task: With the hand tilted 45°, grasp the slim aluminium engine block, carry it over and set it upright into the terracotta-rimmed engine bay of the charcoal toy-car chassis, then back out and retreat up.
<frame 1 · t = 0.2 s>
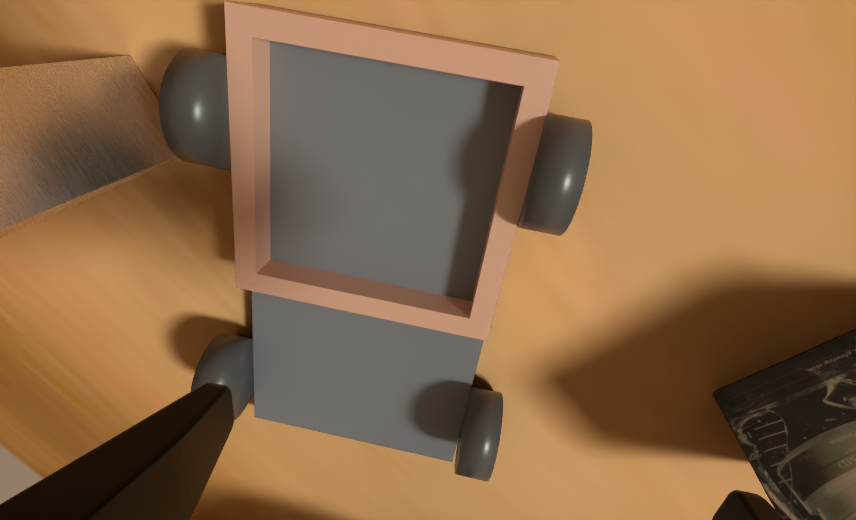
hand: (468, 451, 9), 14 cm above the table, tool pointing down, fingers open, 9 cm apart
chassis: (374, 270, 24), on the table
engine block: (125, 124, 22), on the table
box: (842, 382, 23), on the table
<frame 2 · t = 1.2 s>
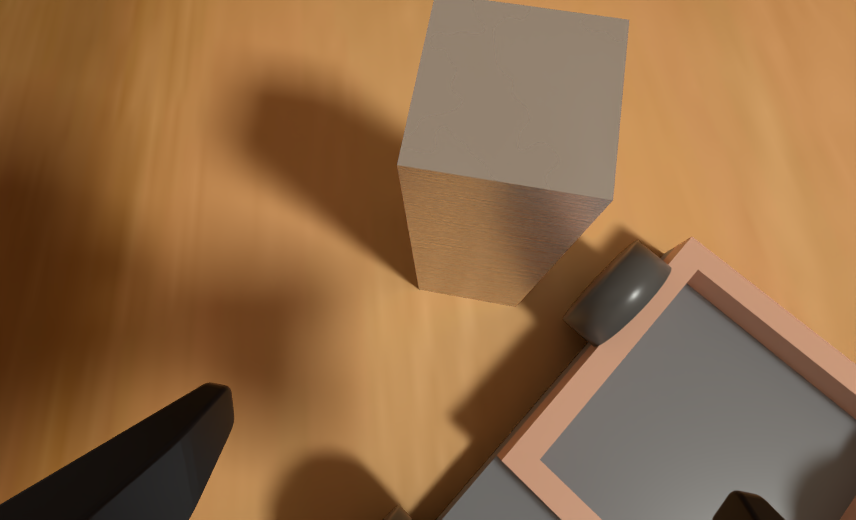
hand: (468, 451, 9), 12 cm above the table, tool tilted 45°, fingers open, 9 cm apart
engine block: (474, 251, 22), on the table
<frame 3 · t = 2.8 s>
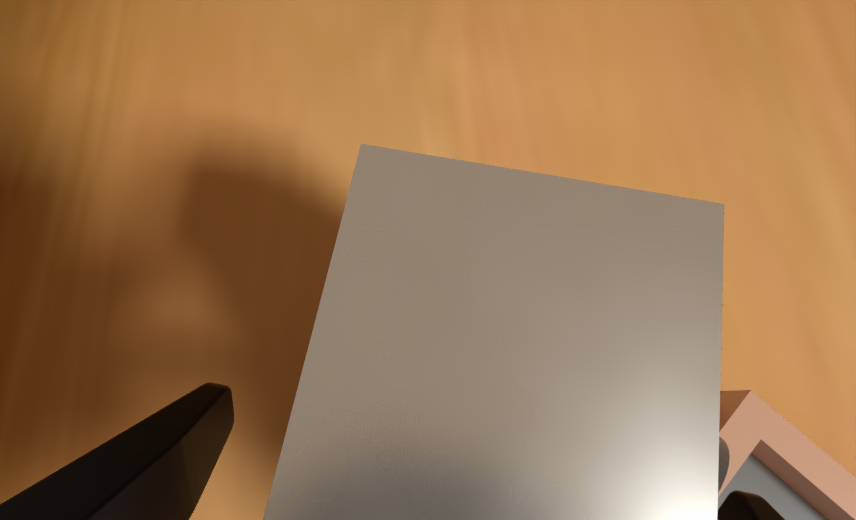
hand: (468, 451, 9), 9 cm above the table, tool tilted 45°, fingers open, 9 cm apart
engine block: (459, 386, 17), on the table
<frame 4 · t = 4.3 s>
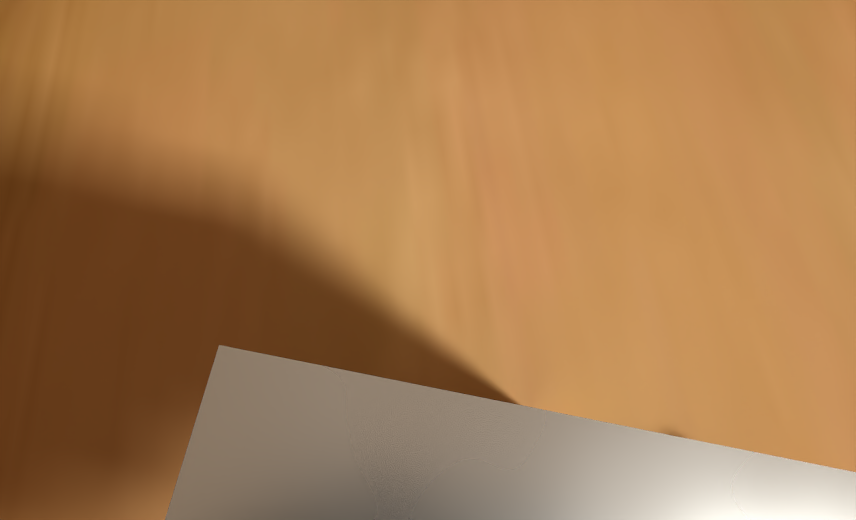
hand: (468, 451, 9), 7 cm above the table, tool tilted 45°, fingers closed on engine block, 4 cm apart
engine block: (447, 474, 15), on the table, touching gripper
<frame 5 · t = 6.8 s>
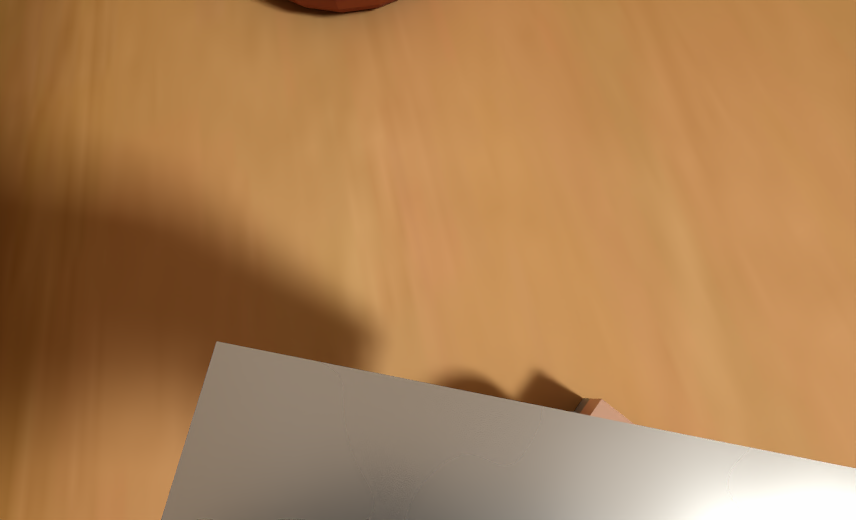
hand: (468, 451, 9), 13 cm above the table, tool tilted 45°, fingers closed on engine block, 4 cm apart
engine block: (446, 473, 15), point 7 cm above the table, touching gripper
when the fingers open (9 cm above the table, at t = 9.1 s): engine block drops 1 cm, resting on chassis.
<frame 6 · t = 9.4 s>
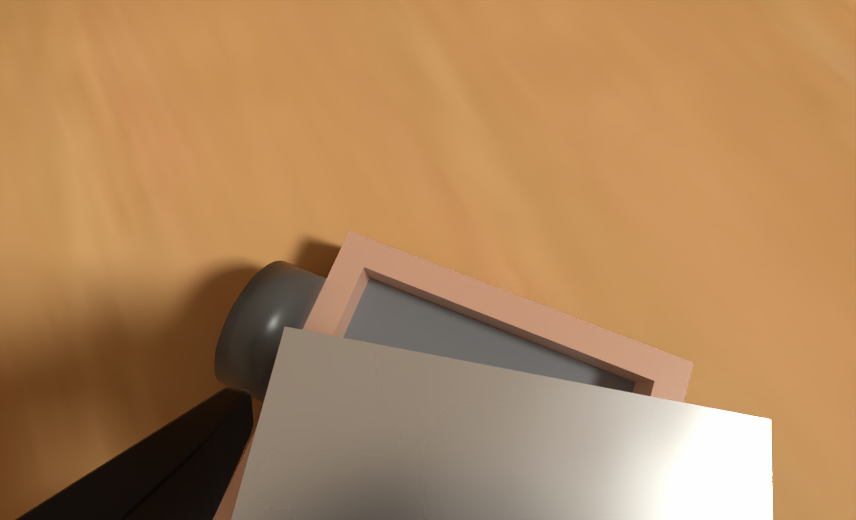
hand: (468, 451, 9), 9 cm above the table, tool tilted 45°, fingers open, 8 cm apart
engine block: (446, 465, 16), point 1 cm above the table, touching chassis
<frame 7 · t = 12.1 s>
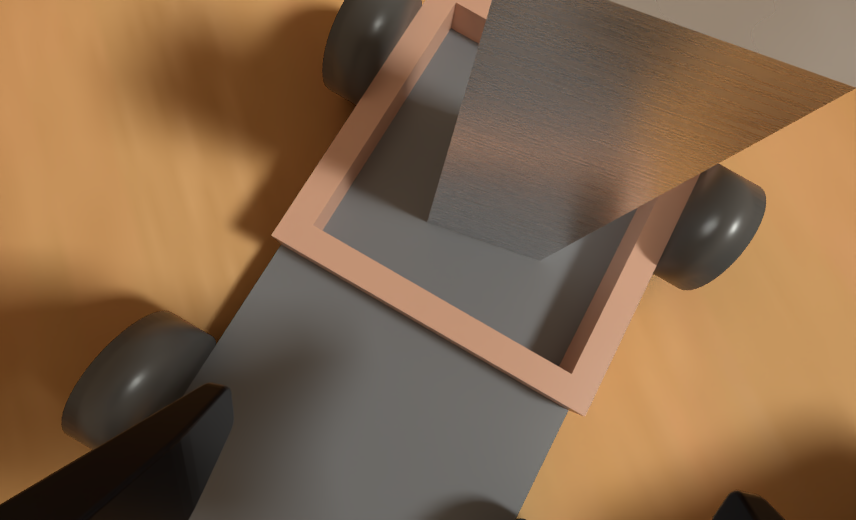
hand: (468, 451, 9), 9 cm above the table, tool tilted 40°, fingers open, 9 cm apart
chassis: (434, 304, 18), on the table
engine block: (500, 187, 18), point 1 cm above the table, touching chassis
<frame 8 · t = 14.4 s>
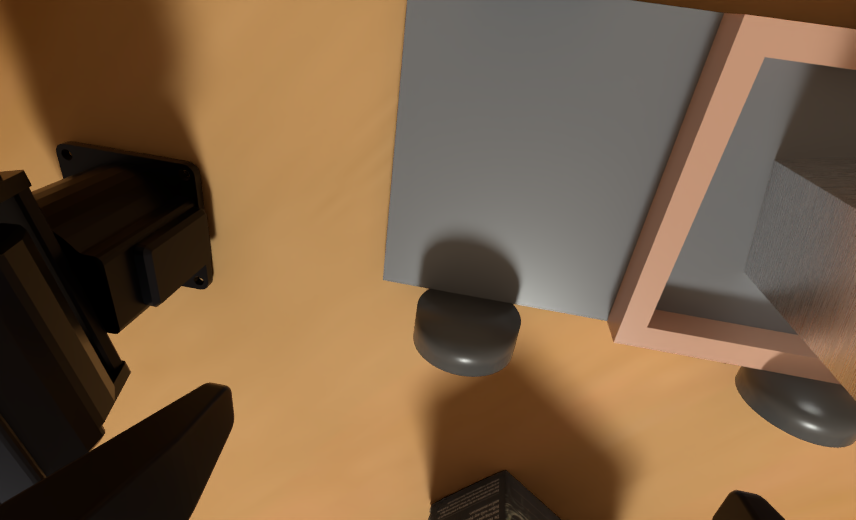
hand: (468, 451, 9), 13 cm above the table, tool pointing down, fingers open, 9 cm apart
chassis: (675, 187, 19), on the table
engine block: (826, 218, 17), point 1 cm above the table, touching chassis
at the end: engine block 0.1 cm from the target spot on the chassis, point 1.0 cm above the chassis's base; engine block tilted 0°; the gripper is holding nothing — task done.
